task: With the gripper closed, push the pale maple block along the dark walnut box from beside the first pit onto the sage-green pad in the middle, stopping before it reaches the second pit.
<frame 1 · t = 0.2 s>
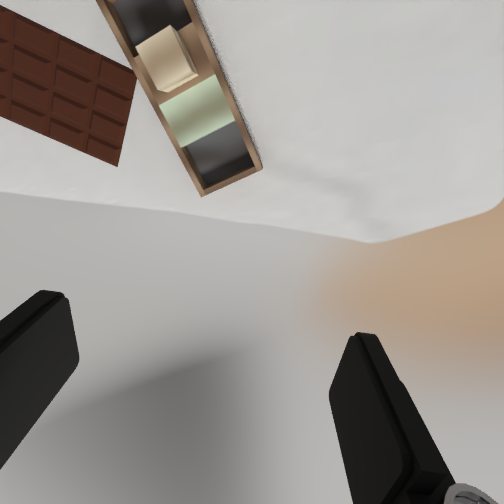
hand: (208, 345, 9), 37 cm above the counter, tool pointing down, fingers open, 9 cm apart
block: (174, 64, 35), point 3 cm above the counter, touching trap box
chocolate bar: (34, 79, 39), on the counter
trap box: (191, 92, 38), on the counter
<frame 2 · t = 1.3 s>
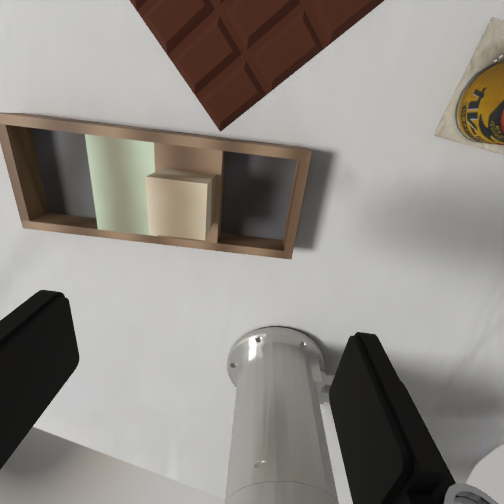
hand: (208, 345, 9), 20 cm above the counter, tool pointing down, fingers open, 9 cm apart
block: (189, 196, 25), point 3 cm above the counter, touching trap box
condiment: (498, 93, 23), on the counter
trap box: (166, 185, 27), on the counter
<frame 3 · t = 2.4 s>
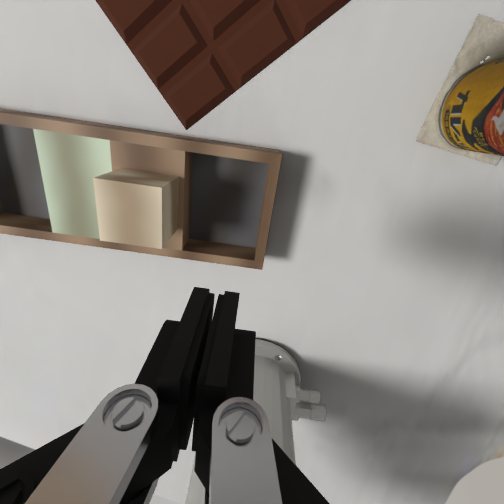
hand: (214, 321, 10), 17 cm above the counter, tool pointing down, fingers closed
block: (150, 200, 23), point 3 cm above the counter, touching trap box
condiment: (484, 97, 22), on the counter
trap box: (129, 186, 25), on the counter
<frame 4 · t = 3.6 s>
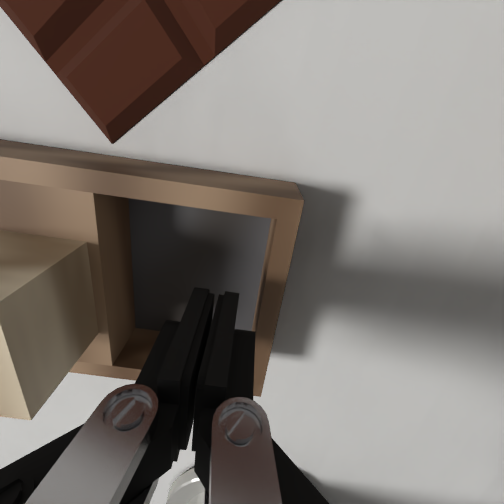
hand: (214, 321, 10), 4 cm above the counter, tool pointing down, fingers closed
block: (38, 284, 11), point 3 cm above the counter, touching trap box
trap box: (21, 244, 14), on the counter
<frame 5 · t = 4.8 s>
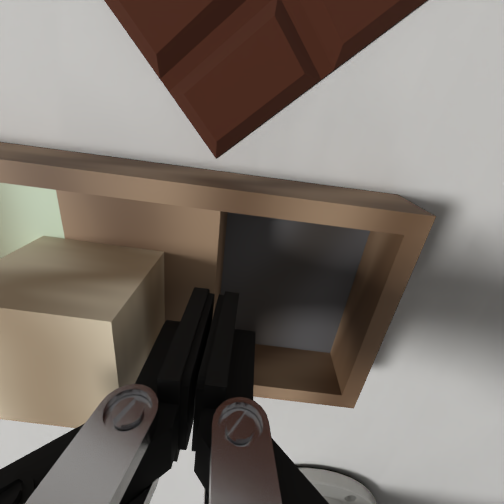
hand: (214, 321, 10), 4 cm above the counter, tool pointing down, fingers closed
block: (109, 293, 11), point 3 cm above the counter, touching gripper
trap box: (110, 258, 14), on the counter
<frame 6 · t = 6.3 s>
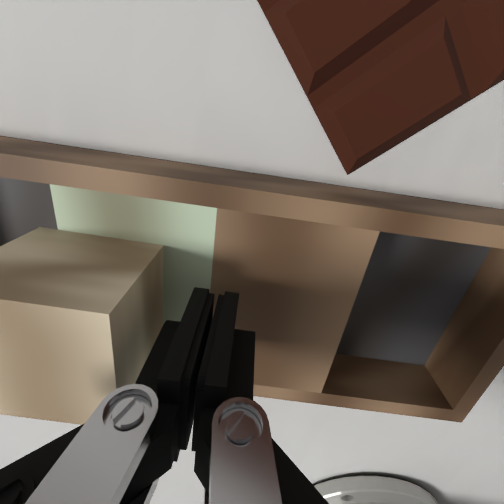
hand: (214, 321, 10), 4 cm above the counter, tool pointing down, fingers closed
block: (107, 287, 11), point 3 cm above the counter, touching gripper, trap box
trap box: (219, 270, 14), on the counter
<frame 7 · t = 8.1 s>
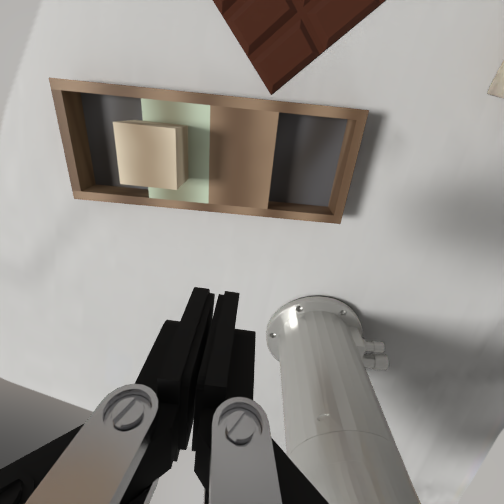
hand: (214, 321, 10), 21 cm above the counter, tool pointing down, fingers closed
block: (162, 150, 25), point 3 cm above the counter, touching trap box
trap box: (214, 153, 28), on the counter
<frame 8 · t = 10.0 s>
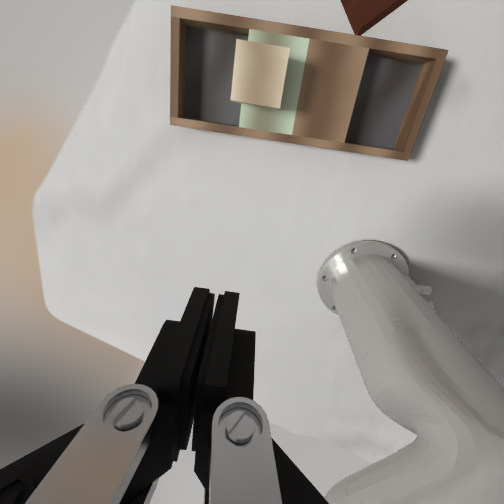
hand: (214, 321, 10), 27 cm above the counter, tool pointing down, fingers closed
block: (259, 80, 28), point 3 cm above the counter, touching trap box
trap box: (296, 92, 31), on the counter
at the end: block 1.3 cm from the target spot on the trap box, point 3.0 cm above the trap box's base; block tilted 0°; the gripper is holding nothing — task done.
